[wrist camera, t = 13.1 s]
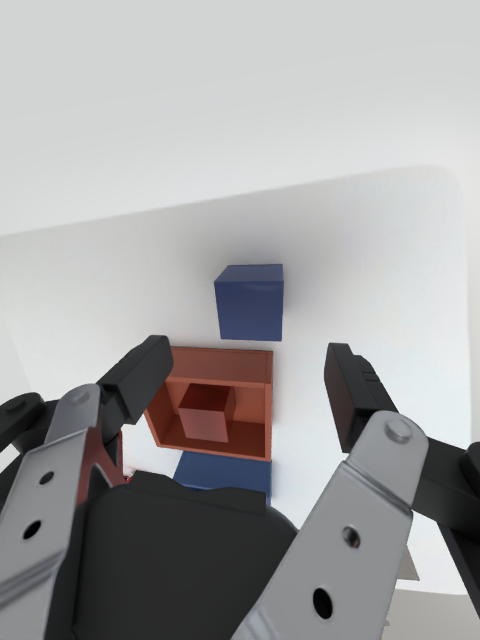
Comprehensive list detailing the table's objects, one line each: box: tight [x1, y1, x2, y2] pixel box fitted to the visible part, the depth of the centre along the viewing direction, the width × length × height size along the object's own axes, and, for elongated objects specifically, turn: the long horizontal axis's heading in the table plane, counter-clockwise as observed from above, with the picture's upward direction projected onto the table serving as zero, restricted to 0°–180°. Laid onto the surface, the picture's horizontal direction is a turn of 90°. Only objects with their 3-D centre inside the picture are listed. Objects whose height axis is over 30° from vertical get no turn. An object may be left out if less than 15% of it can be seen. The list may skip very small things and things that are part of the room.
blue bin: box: [173, 450, 271, 506], centre depth 32 cm, size 13×11×4 cm
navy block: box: [214, 264, 284, 341], centre depth 16 cm, size 4×4×4 cm
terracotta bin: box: [144, 347, 273, 462], centre depth 23 cm, size 13×11×4 cm
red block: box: [178, 383, 236, 443], centre depth 22 cm, size 4×4×4 cm
